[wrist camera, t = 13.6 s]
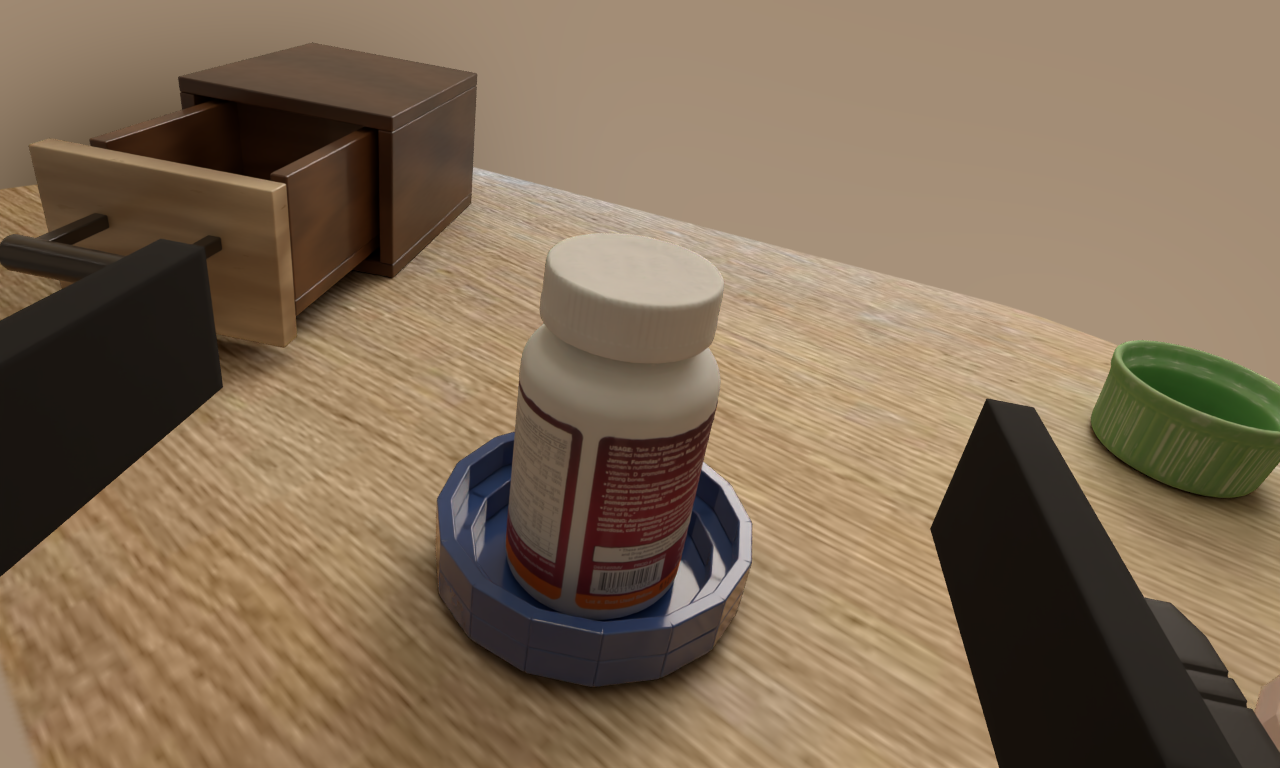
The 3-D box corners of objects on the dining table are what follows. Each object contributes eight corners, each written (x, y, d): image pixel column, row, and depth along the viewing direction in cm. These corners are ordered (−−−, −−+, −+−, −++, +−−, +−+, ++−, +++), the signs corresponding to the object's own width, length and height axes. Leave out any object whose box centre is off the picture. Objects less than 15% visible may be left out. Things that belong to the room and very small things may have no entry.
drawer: (222, 403, 32) (199, 230, 28) (-27, 353, 32) (-81, 175, 29) (399, 246, 48) (400, 122, 44) (231, 213, 48) (218, 87, 45)
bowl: (386, 651, 24) (385, 589, 23) (488, 453, 33) (491, 401, 32) (731, 725, 24) (751, 665, 23) (739, 504, 33) (753, 453, 32)
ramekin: (1172, 514, 37) (1221, 437, 35) (1043, 407, 45) (1076, 338, 42) (1308, 504, 40) (1361, 431, 38) (1165, 405, 47) (1202, 339, 45)
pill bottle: (694, 534, 31) (762, 257, 25) (647, 653, 25) (720, 337, 20) (545, 486, 32) (576, 210, 26) (470, 590, 26) (490, 273, 21)
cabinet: (393, 278, 46) (392, 116, 42) (198, 240, 47) (177, 76, 42) (471, 203, 59) (477, 73, 54) (318, 173, 59) (311, 42, 55)
